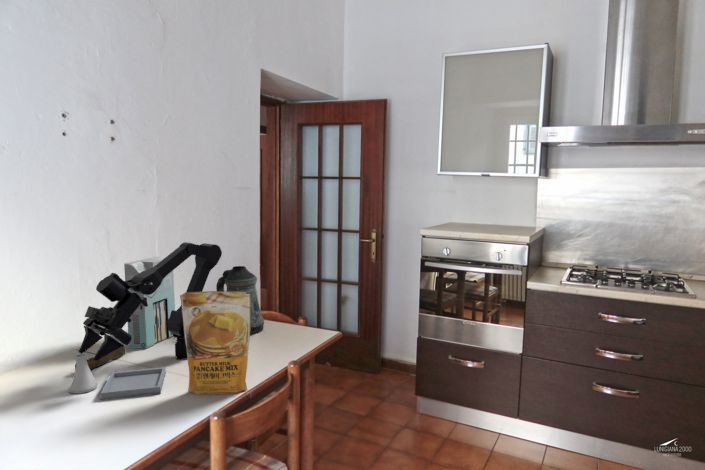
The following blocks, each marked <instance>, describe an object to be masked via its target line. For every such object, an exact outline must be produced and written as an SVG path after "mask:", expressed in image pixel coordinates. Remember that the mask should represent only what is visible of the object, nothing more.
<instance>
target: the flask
mask: <svg viewBox="0 0 705 470" xmlns="http://www.w3.org/2000/svg"><path fill="white" fill-rule="evenodd" d="M87 357H88V353H86V352H84V353H82V354H81V353H77V354H75V355H74V359H75V361H76V362H75V364H76V370H74V374H73V378H72V381H71V385H70V388H69V391H68V392H69V393H71V394H83V393H89V392H91V391H93V390H95V389H97V387H98V382H97V381H96V379H95V375H93V373H92V371H91V370H90V369H89V367H88V363H87Z"/></svg>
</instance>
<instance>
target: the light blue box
mask: <svg viewBox="0 0 705 470" xmlns="http://www.w3.org/2000/svg"><path fill="white" fill-rule="evenodd" d="M164 258H165V257H164ZM164 258H163V257H162V256H152V257H148V258H144V259H139V260H135V261H130V262H125V263H123V265H124V266H123V268H124V281H127V280H130V279H132V278H133V277H134V276H135V275H137V274H139V273H141V272H143V271H145V270H148V269H150V268H152V267H154V266H156V265H157V264H158V263H159V262H161V261H162V260H163V259H164ZM128 291H129V292H131V293H137V292H135V291H133V290H129V289H128ZM137 294H138V295H139V296H140V297H146V298H147V303H148V306H147V307H145V306H142V305H140V306H139V307H138V308H137V310H136V311H135V312H134V313H133V315H132V316H131V317H130V319H131V320H132V321H131V322H130V323H129V322H127V333H128V334H130V335H131V337H132V340H131V342H130V343H129V344H128V347H129V348H132V349H133V348H134V349H142V350H147V349H148V348H150V347H153V346H154V345H155V346H156V345H157V344H160V343H161V342H163V341H166V340H168V339H170V338H173V335H172V333H171V332H170V331H169V329H168V322H167V321H168V319H169V318H170V314H171V311H172V310H174V311H176V304H175V303H176V302H175V280H174V270H173V271H172V272H170V273H169V274H168V275H167V276H166V277H165V278H164V279H163V281H162V283H161V285H160V286H159V287H158V288H157V290H156V291H155V292H154V293H152V294H150V295H145V294H141V293H137Z"/></svg>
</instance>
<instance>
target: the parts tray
mask: <svg viewBox="0 0 705 470" xmlns="http://www.w3.org/2000/svg"><path fill="white" fill-rule="evenodd" d="M166 369H167V368H166V367H165V366H163V367H156V368H155V367H154V368H145V369H135V370H126V371H125V370H124V371H117V372H116V371H115V372H111V373H110V376H109V377H108V379H107V381H106V383H105V385H104V386H103V388H102V390H101V392H100V401H106V400H105V399H108V400H115V399H116V400H117V399H124V398H125V399H126V398H134V397H143V396H152V395H153V396H154V395H161V393H162V389H163V385H164V382H165V379H166V375H167V371H166ZM165 374H166V375H165ZM164 378H165V379H164Z"/></svg>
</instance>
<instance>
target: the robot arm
mask: <svg viewBox="0 0 705 470" xmlns="http://www.w3.org/2000/svg"><path fill="white" fill-rule="evenodd" d="M222 254H223V251H222V249H221V247H220V246H219V244H213V243H205V242H204V243H201V244H196V243H193V242H182V243H181V244H179V246H178V247H177V248H176V249H174V250H173V251H172V252H171V253H170V254H168V255H167V256H165V257H164V259H163V260H162V261H161V262H159V263H158V264H157V265H156V266H154V267H152V268H150V269H148V270H145V271H143V272H141V273H139V274H137V275H135V276H134V277H133V278H132V279H130V280H127V281H125V280H124V279H122V278H121V277H120V276H119V274H117V273H116V272H111V273H110V274H109V275H108V276H105V278H103V279H101V280H100V281H99V282H98V283H97V285H96V287H95V290H96V292H98V293H99V294H101V296H104V297H105V298H106V299H107V300H109V301H110V302H112V303H113V302H116V304H115V305H114V306H113V307H111V306H109V307H104V306H101V307H100V308H98V307H94V306H88V307H87V309H86V312H85V314H84V317H85V318H86V319H85V320H84V322H82V324H83V328H84V332H85V334H84V337H83V340H82V342H81V345H80V346H79V350H78V354H82V353H86V352H87V351H88V350H89V349H91V348H92V347H93V346H94V345H96V343H98V342H99V341H101V340H102V339H103V342H102V343H101V345H100V347H99V349H97V352H96V353H95V354H94V356H93V357H94V358H93V357H92V358H93V359H94V360H96V361H97V360H99V359H101V358H102V357H104V356H106V355H107V354H109V353H111V352H113V351H115V350H117V349H119V348H120V347H125V346H127V347H129V343H130V342H131V340H132V337H131V335H130V334H128V331H125V330H124V329H123V328H124V326H125V325H126V324H127V323H128V322H129V323H130V322H131V321H132V320H131V319H130V317H131V316H132V315H133V313H134V312H135V311H136V310H137V308H138V307H139V306H140V305H142V306H145V307H147V306H148V303H147V298H146V297H140V296H139V295H138V294H137V293H141V294H145V295H150V294H152V293H154V292H155V291H156V290H157V288H158V287H159V286H160V285H161V283H162V281H163V279H164V278H165V277H166V276H167V275H168V274H169V273H170V272H172V271H173V272H174V270H175V269H176V268H178V267H179V266H180V265H181V264H183V263H184V262H185V261H187V259H189V258H190V257H191V256H194V262H195V268H194V271H193V273H192V276H191V278H190V281H189V283H188V286H187V289H186V291H185V293H186V292H204V287H205V285H206V282H207V280H208V276H209V274H210V272H211V271H212V270H213V269H214V268H215V267H216V265H218V262H219V261H220V259H221V258H222ZM128 289H129V290H133V291H135V292H137V293H131V292H129V291H128ZM167 322H168V329H169V331H170V332H171V333H172V335H173V336H172V338H176V341H175V343H174V355H175V357H176V360H188V358H187V347H186V343H185V336H184V327H183V316H182V309H181V305H180V306H179V308H177V309H176V310H175V311H174V310H172V311H171V314H170V318H169V319H168V321H167ZM123 344H124V345H123Z"/></svg>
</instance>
